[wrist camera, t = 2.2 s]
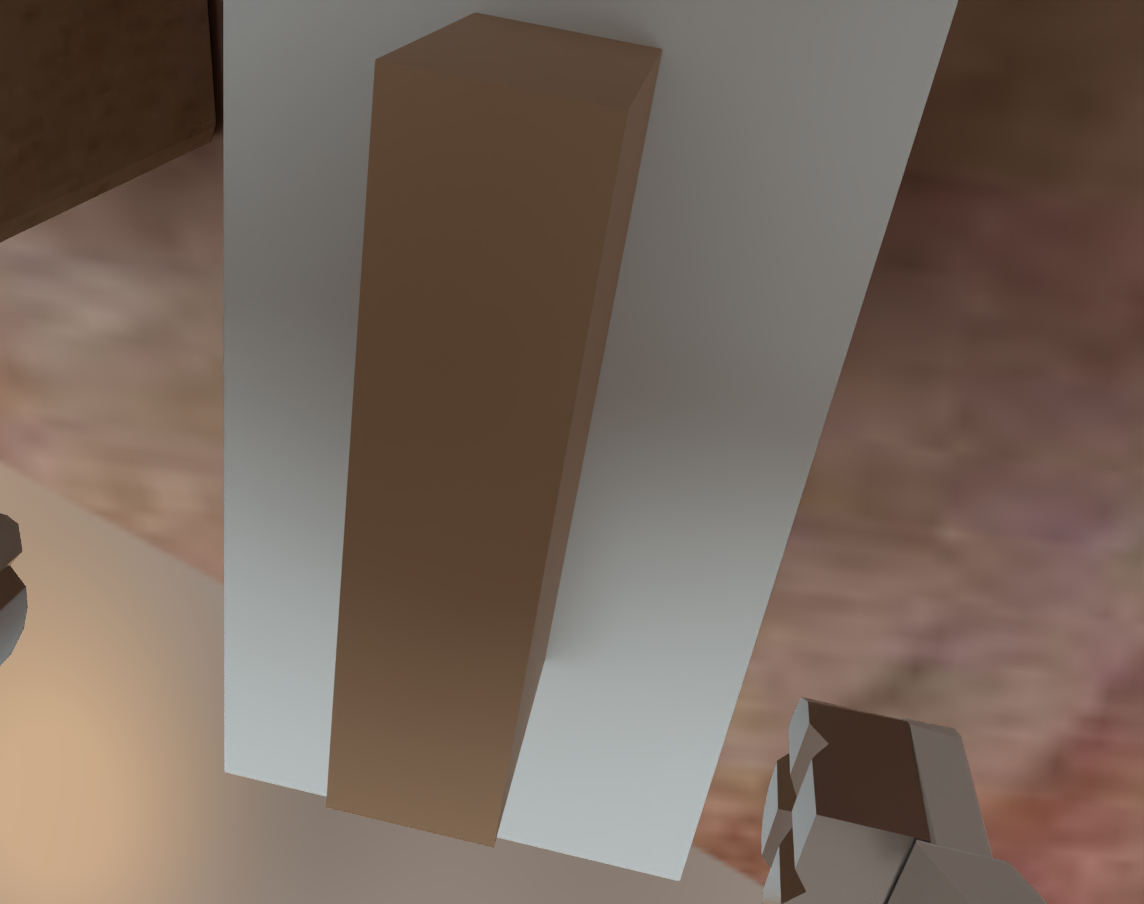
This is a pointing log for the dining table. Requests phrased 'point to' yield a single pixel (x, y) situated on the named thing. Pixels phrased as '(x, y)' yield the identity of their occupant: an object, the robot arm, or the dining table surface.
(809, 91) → the lid
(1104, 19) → the dining table surface
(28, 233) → the dining table surface
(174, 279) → the dining table surface
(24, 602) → the robot arm
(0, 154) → the wooden block
